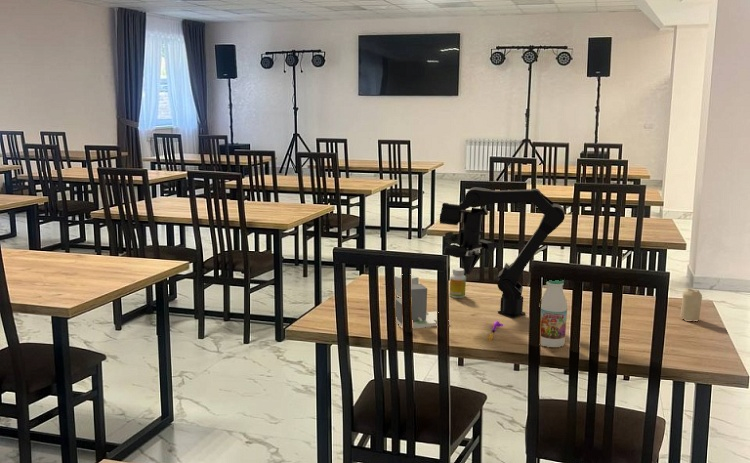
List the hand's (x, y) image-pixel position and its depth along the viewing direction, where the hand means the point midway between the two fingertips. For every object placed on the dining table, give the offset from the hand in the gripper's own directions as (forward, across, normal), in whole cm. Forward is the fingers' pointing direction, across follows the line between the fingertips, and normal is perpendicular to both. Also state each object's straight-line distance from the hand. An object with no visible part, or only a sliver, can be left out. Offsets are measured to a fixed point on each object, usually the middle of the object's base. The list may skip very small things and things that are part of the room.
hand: (467, 274), depth 227 cm
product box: (+13, +5, -22) cm, 26 cm away
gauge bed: (+12, +20, 0) cm, 24 cm away
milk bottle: (+11, +5, +36) cm, 38 cm away
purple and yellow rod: (+12, +9, +20) cm, 25 cm away
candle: (+9, -48, +53) cm, 72 cm away
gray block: (+11, +22, -1) cm, 25 cm away
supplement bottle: (+12, -10, -11) cm, 19 cm away
